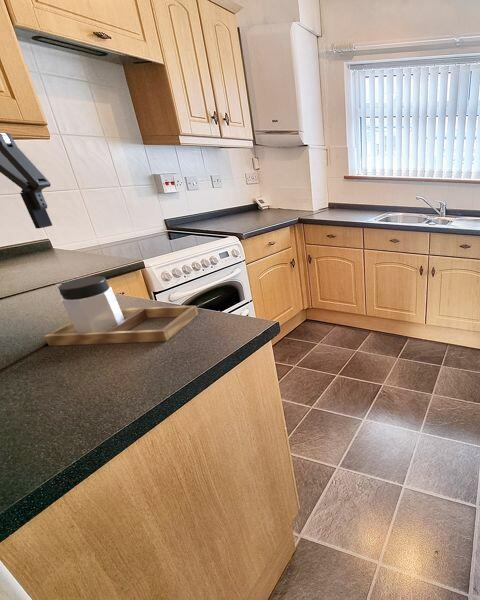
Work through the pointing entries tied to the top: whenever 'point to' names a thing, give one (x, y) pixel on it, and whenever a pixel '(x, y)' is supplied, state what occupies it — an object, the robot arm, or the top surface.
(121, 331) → the organiser
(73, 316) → the jar
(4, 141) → the robot arm
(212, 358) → the top surface
